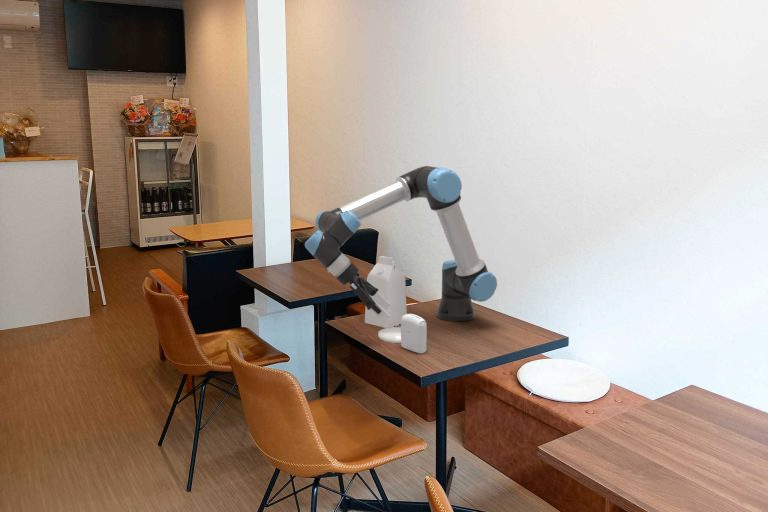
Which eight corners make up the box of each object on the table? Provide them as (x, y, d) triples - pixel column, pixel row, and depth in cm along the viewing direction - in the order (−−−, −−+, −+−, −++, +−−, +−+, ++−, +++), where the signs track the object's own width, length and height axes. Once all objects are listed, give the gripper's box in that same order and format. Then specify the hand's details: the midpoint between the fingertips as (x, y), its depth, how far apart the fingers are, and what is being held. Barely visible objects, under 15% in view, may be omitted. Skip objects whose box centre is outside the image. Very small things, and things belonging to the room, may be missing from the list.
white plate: (418, 330, 247) (418, 327, 247) (420, 343, 232) (420, 340, 232) (378, 329, 247) (378, 326, 247) (377, 342, 232) (377, 339, 232)
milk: (407, 321, 257) (407, 256, 252) (388, 328, 248) (389, 261, 243) (383, 316, 264) (383, 252, 259) (364, 322, 256) (364, 257, 250)
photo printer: (398, 346, 228) (399, 312, 226) (408, 344, 231) (408, 310, 228) (418, 355, 220) (419, 319, 218) (428, 352, 223) (428, 317, 221)
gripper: (338, 269, 233) (380, 310, 236) (331, 286, 209) (378, 332, 211) (353, 254, 232) (395, 296, 235) (348, 270, 207) (395, 316, 210)
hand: (387, 313), depth 223 cm, fingers open, 13 cm apart
